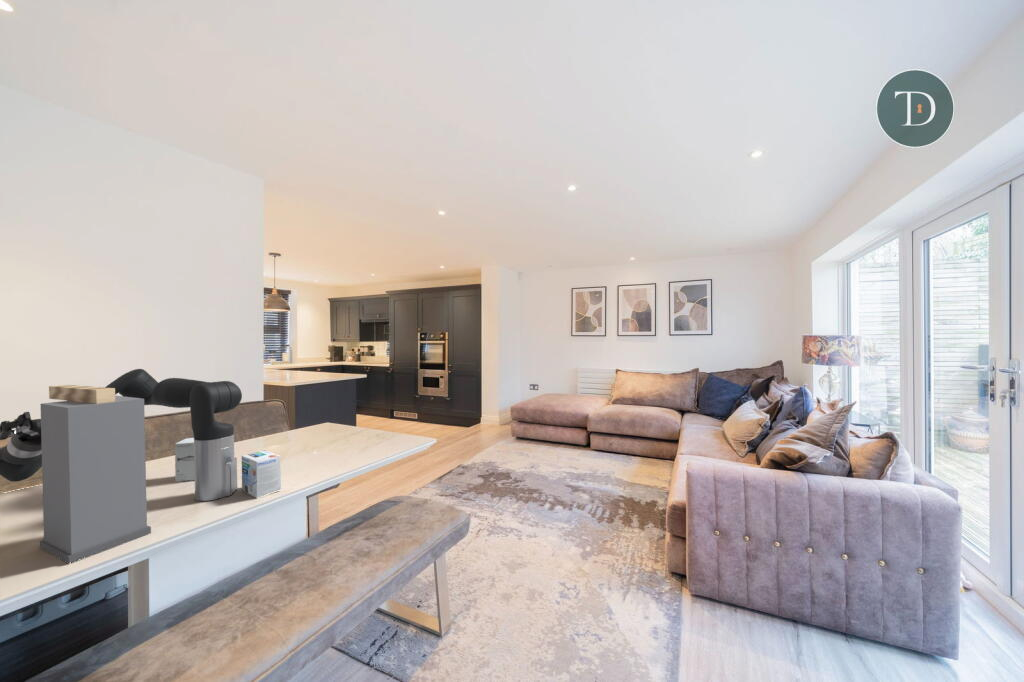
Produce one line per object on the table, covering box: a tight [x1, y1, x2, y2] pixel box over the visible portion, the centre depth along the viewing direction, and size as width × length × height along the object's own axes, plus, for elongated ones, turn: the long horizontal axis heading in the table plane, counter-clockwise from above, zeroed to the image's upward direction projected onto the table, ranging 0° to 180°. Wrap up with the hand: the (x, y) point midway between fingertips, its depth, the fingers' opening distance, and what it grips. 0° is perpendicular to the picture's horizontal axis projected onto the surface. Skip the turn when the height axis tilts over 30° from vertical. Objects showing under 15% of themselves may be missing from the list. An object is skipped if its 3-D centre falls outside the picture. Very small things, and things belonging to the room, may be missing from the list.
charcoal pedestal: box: [39, 395, 152, 564], centre depth 85 cm, size 15×13×32 cm
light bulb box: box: [241, 450, 282, 499], centre depth 112 cm, size 11×7×11 cm, turn 56°
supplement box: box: [174, 437, 195, 483], centre depth 124 cm, size 7×7×13 cm
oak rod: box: [48, 384, 116, 404], centre depth 87 cm, size 22×3×3 cm, turn 68°
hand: (55, 412), depth 93 cm, fingers open, 8 cm apart
